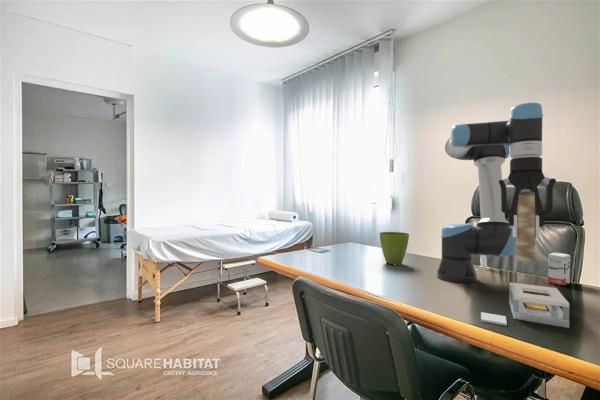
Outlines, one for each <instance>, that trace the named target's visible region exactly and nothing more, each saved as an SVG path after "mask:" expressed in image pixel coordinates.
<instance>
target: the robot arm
mask: <svg viewBox="0 0 600 400" xmlns="http://www.w3.org/2000/svg"><path fill="white" fill-rule="evenodd" d="M542 106H543V105H541V103H538V102H526V103H520V104H517V105H513V106H512V107H511V108H510V112H509V120H501V121H490V122H477V123H473V122H472V123H461V124H454V125H453V126H452V127H451V131H450V132H451V133H450V137H449V138H448V139H447V141H446V142H445V145H444V150H445V153H446V154H447V155H448V156H449V157H451V158H453V159H456V160H460V161H473V165H474V166H476V167H477V168H478V169H477V171H478V189H479V191H478V192H479V193H478V194H479V211H480V220H479V221H478V222H477V223H476V226H473V224H472V223H469V222H467V223H465V222H464V223H455V224H454V223H452V224H447V225H444V226H443V227H442V228H441V236H440V237H441V260H440V262H439V265H438V268H437V270H436V277H437V278H439V279H441V280H443V281H447V282H453V283H463V284H464V283H468V284H469V283H476V282H477V281H478V274H477V272H476V269H475V268H474V267H475V266H474V263H473V255H474V256H481V255H486V257H487V256H488V257H490V256H491V257H497V258H498V257H510V256H512V255H513V253H514V251H515V249H516V238H517V214H515V213H516V210H517V202H518V198H519V192H522V191H523V190H529V192H535V212H536V214H537V215H536V214H535V240H537V239H539V240H540V227H541V228H543V227H544V226H545V222H544V221H545V218H544V217H545V215H549V214H553V203H554V202H553V201H554V200H553V199H554V198H553V196H554V193H553V192H554V186H555V183H556V182H557V180H556V178H550V177H548V176H547V177H546V176H545V175H544V173H543V158H542V157H541V156H543V117H544V114H543V107H542ZM509 157H510V158H511V160H509V175H508V176H507V178H504V179H503V174H502V173H503V171H502V165H503V164H504V163H505V162H506V159H508V158H509ZM509 182H510V184H511V185H512V186H513V187H514V191H513V194H512V198H511V202H510V205H509V209H508V205H507V204H508V203H507V202H508V201H507V199H508V198H507V196H508V195H507V194H508V193H507V187H508V185H509ZM542 182H543V184H544V186H545V193H544V194H545V197H544V203H545V204H544V209H543V205H542V201H541V198H540V195H539V188H538V186H539V185H540V184H541V183H542ZM505 214H507V216H508V220H506V215H505Z"/></svg>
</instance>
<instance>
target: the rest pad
mask: <svg viewBox="0 0 600 400" xmlns="http://www.w3.org/2000/svg"><path fill="white" fill-rule="evenodd" d="M480 322H483V323H489V324H493V325H500V326H505V327H508V322H507V317H506V316H505V315H501V314H495V313H488V312H483V311H480Z"/></svg>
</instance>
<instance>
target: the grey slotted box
mask: <svg viewBox="0 0 600 400" xmlns="http://www.w3.org/2000/svg"><path fill="white" fill-rule="evenodd" d="M508 284H509V285H508V288H509V289H508V293H509V294H508V299H509V300H508V301H509V306H510V307H509V308H510V309H511V310H510V311H511V313H512V318H513V319H514V320H520V321H526V322H532V323H539V324H542V325H550V326H556V327H561V328H567V329H570V302H569V301H568V300H567V299H566V298H565V297H564V295H563V294H562V293H561V292H560V291H559V289H558V288H557V287H553V286H543V285H534V284H527V283H526V284H525V283H518V282H510V281H509V283H508ZM528 292H529V293H528ZM530 292H532V293H530ZM533 293H535V294H533ZM536 293H537V294H536ZM538 293H540V294H538ZM543 294H546V295H543ZM525 302H530V303H537V304H544V305H545V306H546V308H547V311H541V310H535V309H528V308H525Z"/></svg>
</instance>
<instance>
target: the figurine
mask: <svg viewBox="0 0 600 400" xmlns="http://www.w3.org/2000/svg"><path fill="white" fill-rule="evenodd" d="M489 257H490V258H491V257H492V256H489ZM479 260H480V261H479V262H480V264H479V266H480V267H485V268H490V267H488V259H487V255H480V258H479Z"/></svg>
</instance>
